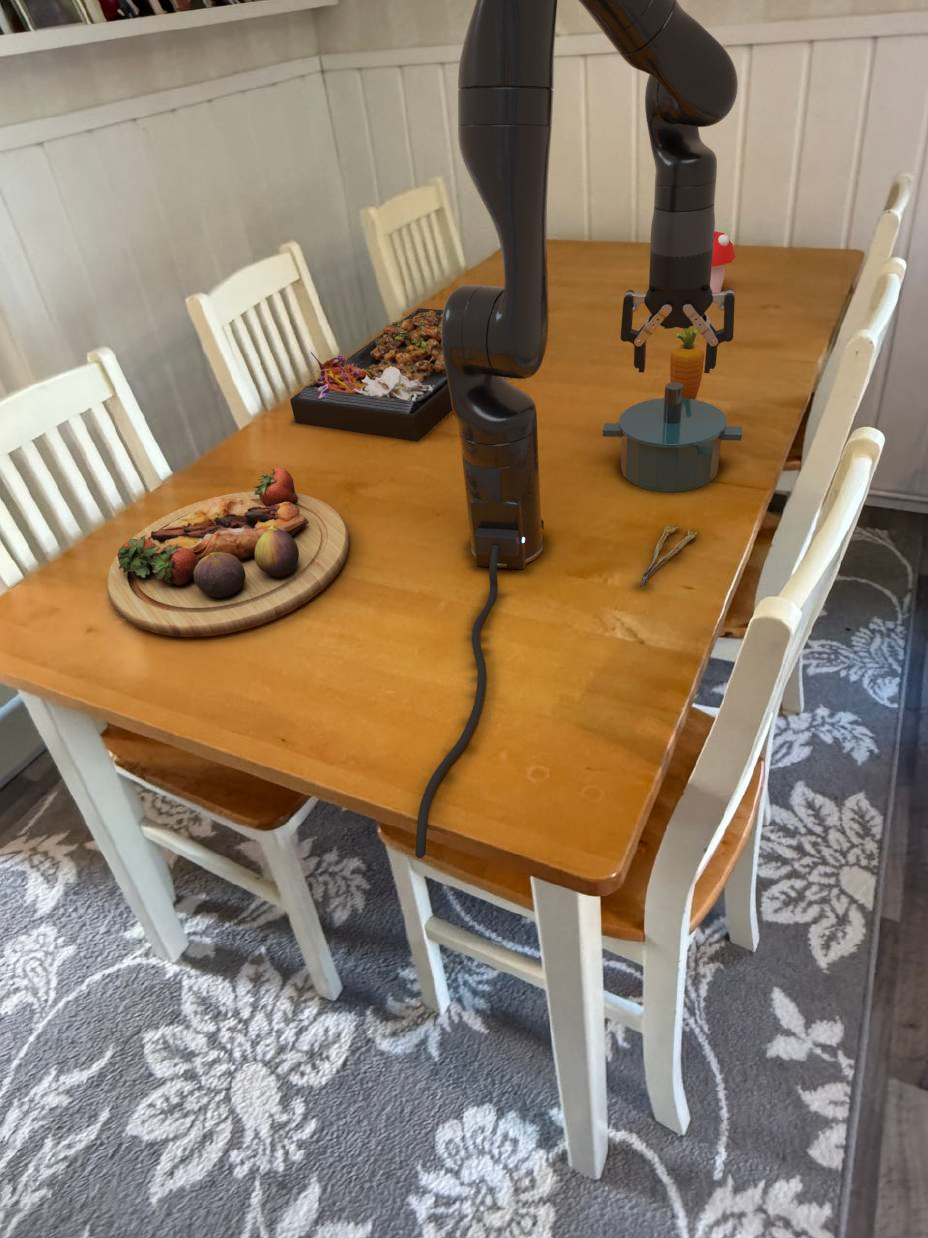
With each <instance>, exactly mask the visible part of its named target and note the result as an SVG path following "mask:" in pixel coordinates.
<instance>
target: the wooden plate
mask: <svg viewBox="0 0 928 1238" xmlns="http://www.w3.org/2000/svg"><path fill="white" fill-rule="evenodd" d="M257 480H258V481H260V482H259V485H256V486H254V485H253V488H255V490H252V491H242V492H241V491H240V492H235V493H234V492H233V493H229V494H223V495H219V496H214V497H211V498H207V499H204V500H200V501H197V502H194V503H191V504H188V505H187V506H184V507H181V508H179V509H175V510H174V511H172V512H170V513H167V514H166V515H164V516H162V517H160V518H158V519H157V520H155V521H154V522H152V523H150V524H149V525H147V526H146V527H145V528H144V527H143V529H142V530H140V531H138V533H136V534H135V535H133V537H131V538H130V539H129V540H128V541H126V542H124V543H123V544H122V545H121V547H120V548H118V552H117V554H116V556H115V558H114V559H113V561H112V563H111V565H110V567H109V568H108V573H107V577H106V589H107V595H108V599H109V601H110V603H111V606H112V607H113V609H114V610H115V611H116V612H117V613H118V614H119V615H120V616H121V617H122V618H123V619H125V620H126V621H127V622H129V623H131V624H132V625H134V626H135V627H138V628H140V629H143V630H145V631H147V632H151V633H154V634H159V635H164V636H171V637H181V638H182V637H185V638H189V637H191V638H193V637H210V636H218V635H219V636H220V635H225V634H231V633H235V632H238V631H243V630H247V629H251V628H254V627H257V626H260V625H263V624H266V623H268V622H271V621H273V620H276V619H278V618H281V617H282V616H284V615H286V614H288V613H290V612H292V611H294V610H296V609H297V608H299V607H301V606H302V605H305V604H306V603H307V602H309V601H310V600H312V599H313V598H314V597H316V596H317V595H318V594H320V593H321V592H322V591H323V590H324V589H325V588H326V587H328V585H329V584H330V583H331V582H332V581H333V580H334V579H335V577H336V576H337V575H338V574H339V572H340V571H341V570H342V568H343V566H344V564H345V562H346V559H347V556H348V554H349V550H350V533H349V529H348V526H347V523H346V522H345V520H344V518H343V517H342V516H341V514H340V513H339V512H338V511H337V510H336V509H335V508H333V506H331V505H329V504H328V503H326V502H324V501H322V500H320V499H318V498H316V497H314V496H310V495H307V494H304V493H298V492H296V489H295V483H294V479H293V476H292V475H291V473H290V471H288V470H287V469H285V468H283V467H277V468H271V471H270V474H269V475H268V474H267V473H265V472H263V474H262V475H260V478H258V479H257Z"/></svg>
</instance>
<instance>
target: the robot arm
mask: <svg viewBox="0 0 928 1238" xmlns="http://www.w3.org/2000/svg"><path fill="white" fill-rule="evenodd" d="M577 1H578V3H580V5H582V7H583V8H584V9H585V10H586V12H587V13H588V14H589V16H590V17H591V18H592V19H593V21H594V22H595V23H596V25H597V26H598V27H599V30H601V31H602V33H603V34H604V36H605V37H606V38H607V39H608V41H609V42H610V43H611V45H612V46H613V47H614V48H615V50H616V52H618V54H619V55H620V56H621V58H622V59H623V60H624V61H625V62H626V63H627V64H628V65H629V66H631V67H632V68H634V69H635V70H637V71H638V70H639V71H641V72H643V73H645V74H648V78H647V81H646V85H645V93H644V109H645V119H646V125H647V130H648V137H649V142H650V148H651V153H652V158H653V160H654V161H653V162H654V166H655V174H654V196H653V197H654V198H653V213H652V217H651V220H652V221H651V224H650V245H649V247H650V249H649V273H648V274H649V275H648V277H649V278H648V279H649V280H648V290H646V293H644V292H643V293H641V292H635V291H634V290H632V289H627V290H626V291H625V293H624V297H623V301H622V312H621V313H622V314H621V327H620V341H622V342H625V343H626V342H628V343H631V344H632V345H633V366H634V368H635V369H638V373H645V369H646V359H647V357H646V356H647V340H648V339H649V337H650V336H652V335H653V334H654V333H655V331H656V330H657V329H658V327H660V326H661V327H663V329H664V330H665V329H666V330H669V329H670V330H671V329H674V328H679V329H683V330H684V329H688V328H689V329H690V328H691V327H693V325H694V326H695V327H696V329H697V331H698V334H700V335H702V337H703V338H704V339H705V341H706V347H705V356H704V371H703V373H704V374H710V371H711V370H714V369H715V368H716V366H717V355H718V346H719V345H720V344H722V343H724V342H727V343H730V342H731V341H733V339H734V329H735V328H734V327H735V326H734V325H735V324H734V323H735V301H736V299H735V298H736V291H735V289H734V288H732V287H729V288H727V289H726V290H725V291H720V292H712V290H711V288H710V280H711V268H712V256H713V243H714V238H715V232H714V231H715V229H716V228H715V227H716V218H715V217H716V214H715V202H716V200H715V199H716V189H717V175H718V158H717V155H716V153H715V151H713V149H711V148H710V147H709V146H707V145H706V144H705V143H704V142H703V141H702V139H701V136H700V131H699V130H700V129H699V128H706V127H710V126H714V125H716V124H718V123H720V122H721V121H722V120H723V119H725V118H726V117H727V116H728V115H729V114H730V112H731V111H732V109H733V107H734V105H735V103H736V99H737V96H738V89H739V81H738V73H737V70H736V67H735V64H734V62H733V60H732V58H731V56H730V54H729V53H728V51H727V50H726V49H725V48H724V47H723V46H722V44H721V43H720V42H719V41H718V40H717V39H716V38H715V37H714V36H713V35H712V34H711V33H710V32H709V31H708V30H707V29H706V28H704V26H703V25H701V23H700V22H698V21H697V20H696V19H695V18H694V17H692V16H691V15H690V14H688V13H687V11H686V10H684V9H683V8H682V6H681V5H680V3H679V1H678V0H577ZM557 12H558V0H476V1H475V4H474V7H473V10H472V13H471V16H470V20H469V23H468V26H467V30H466V33H465V38H464V40H463V44H462V50H461V54H460V59H459V66H458V78H457V89H458V90H457V139H458V147H459V152H460V155H461V157H462V161H463V163H464V164H463V165H464V166H465V169H466V171H467V173H468V175H469V178H470V180H471V182H472V183H473V186H474V187H475V189H476V191H477V194H478V196H479V198H480V199H481V201H482V203H483V205H484V207H485V209H486V211H487V213H488V215H489V217H490V219H491V221H492V223H493V226H494V228H495V231H496V234H497V237H498V241H499V245H500V250H501V257H502V267H503V284H504V285H503V286H494V285H493V286H492V285H491V286H490V285H479V284H464V285H460V286H458V287H457V288H455V289H453V291H452V292H451V293H450V294H449V295H448V298H447V300H446V301H445V304H444V307H443V309H442V310H443V315H442V323H441V340H442V350H443V357H444V363H445V369H446V375H447V380H448V386H449V393H450V399H451V405H452V409H453V410H452V411H453V415H454V416H455V419H456V420H457V424H458V432H459V440H460V448H461V449H460V450H461V459H462V467H463V468H462V470H463V478H464V488H465V489H464V490H465V497H466V507H467V516H468V517H467V518H468V526H469V535H470V551H471V554H472V556H473V558H474V559H475V565H476V567H485V568H488V572H489V573H488V579H489V593H488V598H487V601H486V603H485V604H484V607H483V609H482V610H481V611H480V613H479V615H478V616H477V617H476V619H475V621H474V623H473V626H472V630H471V631H472V632H471V644H472V649H473V654H474V657H475V661H476V665H477V666H476V667H477V683H476V684H477V686H476V690H475V691H476V692H475V698H474V702H473V706H472V709H471V712H470V715H469V717H468V720H467V723H466V725H465V727H464V729H463V731H462V734H461V735H460V737H459V738H458V740H457V741H456V743H455V744H454V745H453V747H452V748H451V749H450V751H449V752H448V753H447V754H446V756H445V757H444V758H443V759H442V761H441V762H440V764H439V765H438V766H437V767H436V769H435V771H434V772H433V774H432V775H431V777H430V779H429V780H428V783H427V785H426V788H425V790H424V793H423V795H422V798H421V801H420V804H419V810H418V813H417V814H418V815H417V822H416V823H417V824H416V835H415V836H416V838H415V852H414V855H415V858H417V859H422V858H424V857H425V856H426V850H427V848H426V847H427V836H428V835H427V834H428V821H429V815H430V808H431V805H432V802H433V798H434V796H435V793H436V791H437V788H438V786H439V784H440V782H441V780H442V779H443V777H444V776H445V774H446V773H447V771H448V770H449V769H450V767H451V766H452V765H453V764H454V762H455V761H456V760H457V759H458V757H459V756H460V755H461V754H462V752H463V750H464V749H465V747H466V746H467V745H468V743H469V741H470V739H471V738H472V735H473V734H474V732H475V729H476V727H477V724H478V721H479V718H480V716H481V714H482V709H483V705H484V701H485V697H486V687H487V666H486V661H485V657H484V653H483V649H482V645H481V630H482V627H483V625H484V622H485V620H486V619H487V618H488V616H489V614H490V613H491V611H492V609H493V607H494V605H495V603H496V599H497V595H498V588H499V585H498V569H511V570H512V569H513V570H524V569H525V566H526V565H527V564H529V563H532V562H533V561H534V560H536V559H537V558H538V557H539V556H540V555H541V554H542V552H543V550H544V538H543V531H545V527H544V526H545V525H544V524H545V523H544V521H545V520H543V519H542V506H541V505H542V504H541V502H542V501H541V481H540V479H541V478H540V460H539V437H538V435H539V434H538V433H539V432H538V415H537V413H538V412H537V407H536V403H535V401H534V400H533V399H532V397H531V396H530V395H528V394H527V393H526V392H524V391H523V390H521V389H519V388H517V387H516V386H515V385H513V384H512V383H510V382H509V381H507V380H506V379H505V378H507V379H516V380H525V379H529V378H532V377H534V375H535V374H537V372H538V371H539V370H540V368H541V366H542V363H543V361H544V358H545V354H546V350H547V345H548V337H549V321H550V320H549V318H550V314H549V312H550V310H549V309H550V308H549V306H550V305H549V275H548V242H547V241H548V240H547V239H548V238H547V235H548V232H547V231H548V230H547V229H548V228H547V227H548V225H547V224H548V223H547V222H548V221H547V220H548V196H549V195H548V193H549V192H548V190H549V171H550V157H551V144H552V143H551V142H552V131H553V112H554V111H553V110H554V88H555V87H554V86H555V45H556V28H557V16H558V15H557V14H558V13H557ZM713 303H715V304H716V305H717V309H718V310H719V311H723V328H720V329H718V330H717V328H716V327H715V326H714V324H713V323H712V322H711V319H710V317H709V315H707V313H706V311H708V309H709V308H710V307H711V305H712V304H713ZM642 304H644V306H645V307H646V308H647V310H648V311H649V313H650V314H649V316H648V317H647V318H646V320H645V322H644V323H643V324H642V326H640V328H639V329H638V330H637V329H633V319H634V312H637V311H639V309H640V306H641V305H642Z"/></svg>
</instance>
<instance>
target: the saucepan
mask: <svg viewBox="0 0 928 1238" xmlns="http://www.w3.org/2000/svg"><path fill="white" fill-rule="evenodd" d="M603 437H605V438H621V440H620V442H621V443H620V445H621V446H620V469H621V473H622V475H623V477H624V478H625V479H626V480H627V481H628V482H629V483H631V484H633V485H634V486H637V487H639V488H642V489H645V490H649V491H652V492H662V493H680V492H688V491H692V490H695V489H699V488H702V487H704V486H705V485H707V484H709V483H711V482H712V481H714V479H715V478H716V477H717V474H718V473H719V465H720V454H721V446H722V445H721V444H722V441H738V442H739V441H740V442H741V441H742V439H743V426H733V425H732V426H731V425H726V428H725V430H724V432H723V433H722V434H721V435H720V436H719V437H717V438H716V439H714V440H712V441H710V442H707V443H704V444H701V445H697V446H692V447H685V448H659V447H652V446H647V445H643V444H640V443H637V442H635V441H633V440H631V439H629V438H627V437H626V436H625V435H624V434H623V433H622V432H621V430H620V428H619V422H604V423H603V428H602V438H603Z"/></svg>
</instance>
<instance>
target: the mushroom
mask: <svg viewBox="0 0 928 1238" xmlns="http://www.w3.org/2000/svg"><path fill="white" fill-rule="evenodd" d="M714 232H715V238H714V243H713V256H712V268H711V280H710V288H711V290H712V292H722V287H723V284H724V280H725V276H726V269H725V268H726V267H725V265H728V264H731V263H732V262H733V261H734V260H735V259H736V254H735V249H734V242H733V241H732V240H731V239H730V237H729V235H727V234H726V233H724V232H721V231H715V230H714Z"/></svg>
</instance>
